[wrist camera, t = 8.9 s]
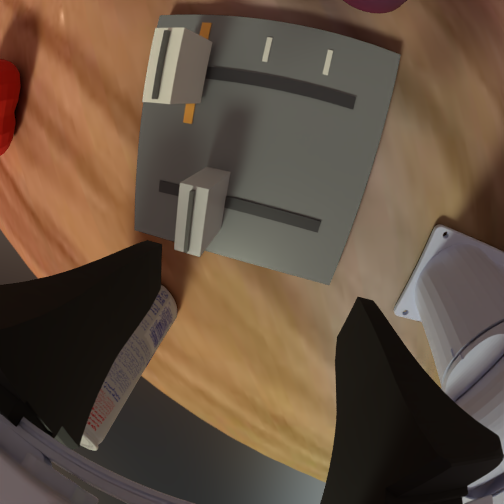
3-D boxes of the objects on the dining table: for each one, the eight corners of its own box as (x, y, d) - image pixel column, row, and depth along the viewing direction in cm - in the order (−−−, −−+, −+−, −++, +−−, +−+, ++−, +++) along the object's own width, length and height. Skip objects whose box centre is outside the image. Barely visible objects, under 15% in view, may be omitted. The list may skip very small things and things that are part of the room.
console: (395, 57, 13) (425, 40, 9) (329, 276, 21) (329, 325, 16) (168, 19, 15) (122, 0, 10) (142, 224, 22) (102, 256, 18)
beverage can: (126, 265, 25) (16, 385, 12) (181, 285, 25) (84, 432, 12) (128, 310, 28) (44, 423, 15) (177, 330, 27) (104, 461, 14)
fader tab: (212, 41, 14) (181, 26, 10) (200, 103, 16) (167, 104, 12) (188, 40, 14) (152, 27, 10) (176, 100, 16) (139, 101, 12)
